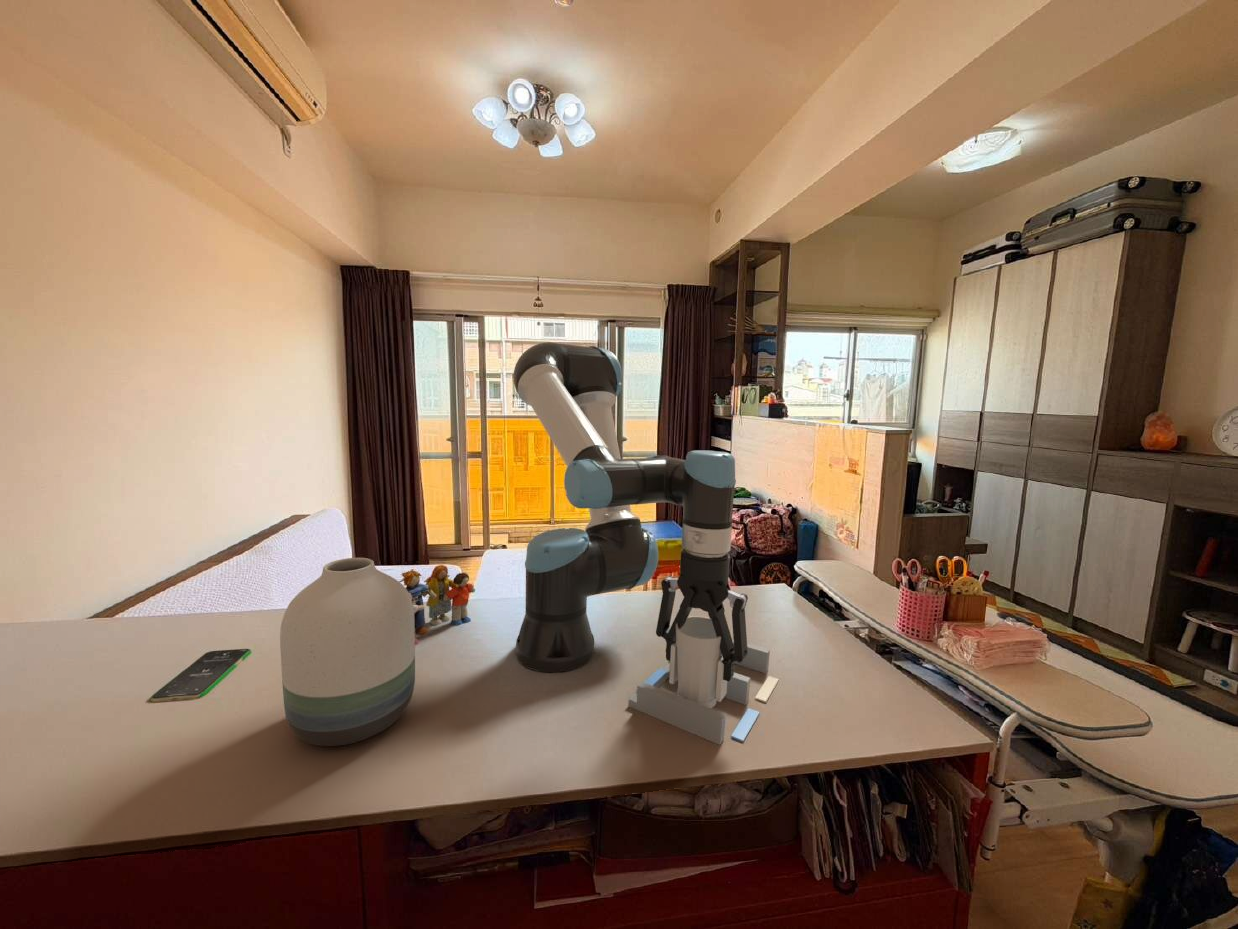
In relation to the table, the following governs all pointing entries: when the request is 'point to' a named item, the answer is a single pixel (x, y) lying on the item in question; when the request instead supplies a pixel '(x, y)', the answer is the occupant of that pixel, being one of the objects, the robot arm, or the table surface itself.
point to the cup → (698, 660)
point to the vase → (347, 654)
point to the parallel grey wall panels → (700, 716)
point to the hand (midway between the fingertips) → (697, 688)
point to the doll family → (438, 597)
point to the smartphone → (201, 675)
